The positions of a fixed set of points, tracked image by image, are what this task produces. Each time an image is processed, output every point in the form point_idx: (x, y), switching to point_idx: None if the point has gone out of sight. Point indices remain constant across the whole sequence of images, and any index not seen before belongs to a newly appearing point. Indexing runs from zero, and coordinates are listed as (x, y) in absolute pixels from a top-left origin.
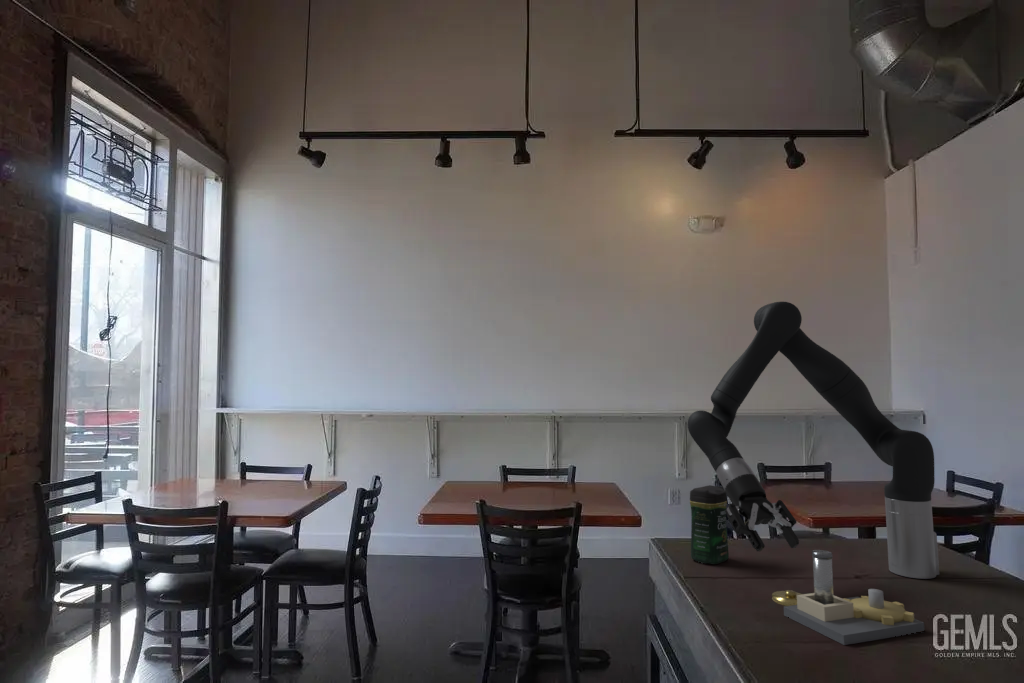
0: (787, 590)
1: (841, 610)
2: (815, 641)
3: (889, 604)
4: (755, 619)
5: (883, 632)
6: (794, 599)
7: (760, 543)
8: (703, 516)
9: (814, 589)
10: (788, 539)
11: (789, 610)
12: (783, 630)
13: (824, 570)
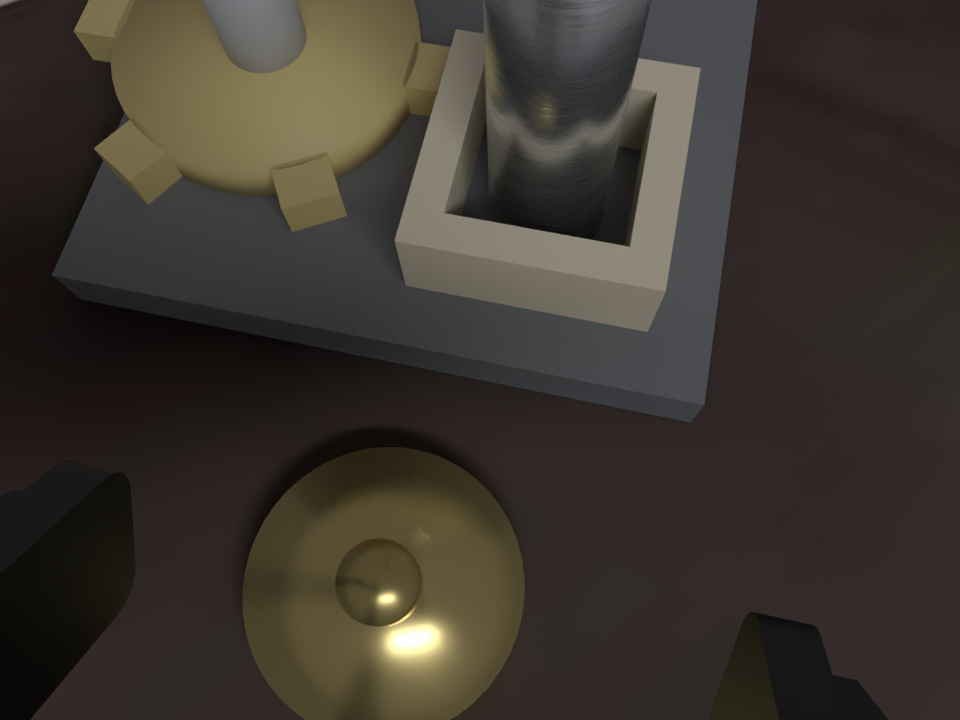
0: (373, 613)
1: None
2: (841, 109)
3: (164, 24)
4: (933, 474)
5: None
6: (418, 525)
7: (820, 661)
8: None
9: (611, 149)
10: (45, 650)
11: (710, 352)
12: (893, 272)
13: None
